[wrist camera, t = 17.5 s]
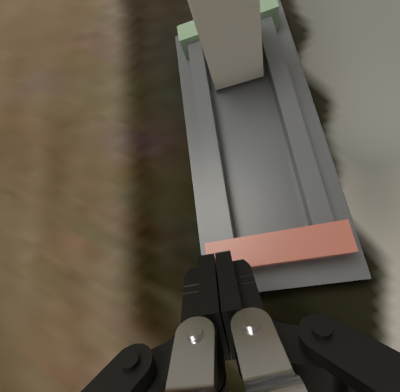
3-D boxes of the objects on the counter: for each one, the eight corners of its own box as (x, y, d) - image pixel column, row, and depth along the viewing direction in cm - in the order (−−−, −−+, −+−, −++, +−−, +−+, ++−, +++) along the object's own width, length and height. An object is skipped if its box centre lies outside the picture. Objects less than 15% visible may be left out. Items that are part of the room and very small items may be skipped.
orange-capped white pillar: (265, 76, 21) (257, -85, 11) (214, 91, 22) (170, -47, 12) (255, 38, 22) (241, -132, 13) (208, 54, 23) (163, -96, 14)
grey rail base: (363, 278, 16) (385, 278, 13) (211, 296, 18) (198, 300, 15) (279, 15, 24) (280, -25, 21) (180, 49, 27) (167, 17, 23)
